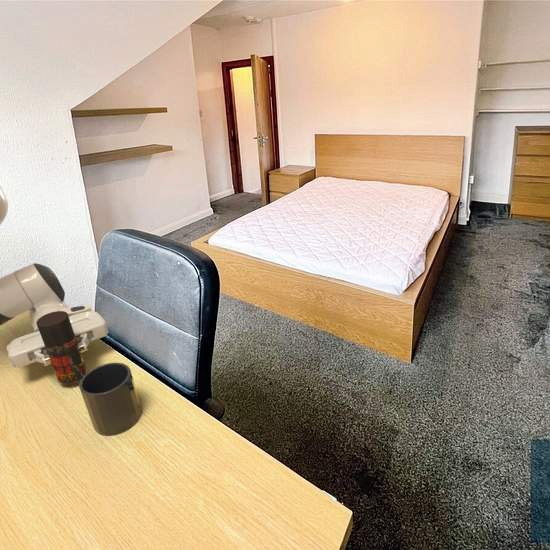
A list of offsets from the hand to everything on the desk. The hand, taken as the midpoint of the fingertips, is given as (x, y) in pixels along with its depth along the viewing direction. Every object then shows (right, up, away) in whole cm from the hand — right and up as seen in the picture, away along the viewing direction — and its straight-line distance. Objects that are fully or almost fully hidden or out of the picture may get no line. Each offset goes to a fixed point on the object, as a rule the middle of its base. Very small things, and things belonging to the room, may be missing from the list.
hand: (66, 355), depth 88 cm
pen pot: (+14, -11, -7) cm, 19 cm away
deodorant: (0, -5, +3) cm, 6 cm away
